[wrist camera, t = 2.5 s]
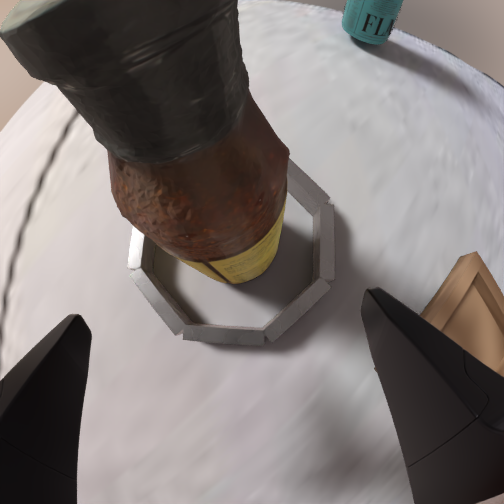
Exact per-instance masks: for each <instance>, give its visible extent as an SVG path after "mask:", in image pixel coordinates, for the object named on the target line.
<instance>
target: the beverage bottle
mask: <svg viewBox="0 0 504 504" xmlns="http://www.w3.org/2000/svg"><path fill="white" fill-rule="evenodd" d="M402 2H403V0H347V4H346V7H345V11H344V14H343V19H342V27H343V29H344V30H345V31H346V32H347V33H348V34H350V35H351V36H353V37H354V38H356V39H358V40H361V41H363V42H366V43H370V44H383V43H385V41H387V39H388V37H389V36H390V34H391V33H392V32H391V30H393V29H392V27H393V25H394V22H395V20H396V17H397V15H398V12H399V10H400V8H401V5H402ZM393 28H394V27H393Z"/></svg>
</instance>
